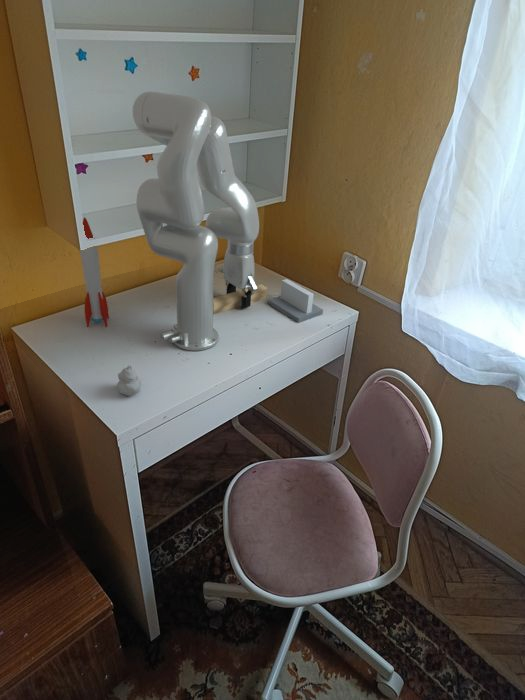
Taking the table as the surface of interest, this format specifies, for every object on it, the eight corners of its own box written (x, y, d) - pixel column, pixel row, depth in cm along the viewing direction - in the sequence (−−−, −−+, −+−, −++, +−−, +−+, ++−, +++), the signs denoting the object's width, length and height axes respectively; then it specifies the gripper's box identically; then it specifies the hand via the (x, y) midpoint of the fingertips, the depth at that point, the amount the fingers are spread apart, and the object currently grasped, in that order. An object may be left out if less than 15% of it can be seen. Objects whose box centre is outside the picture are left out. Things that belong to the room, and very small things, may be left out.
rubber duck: (127, 402, 112) (123, 373, 108) (110, 389, 116) (107, 360, 111) (147, 393, 115) (145, 364, 111) (131, 380, 119) (128, 352, 115)
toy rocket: (107, 327, 138) (95, 221, 122) (86, 327, 137) (71, 221, 121) (109, 317, 143) (98, 214, 126) (89, 317, 142) (75, 213, 126)
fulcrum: (298, 322, 147) (301, 300, 143) (268, 304, 156) (270, 282, 152) (322, 314, 153) (325, 292, 149) (292, 296, 162) (294, 275, 157)
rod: (213, 315, 148) (213, 303, 146) (208, 311, 150) (208, 299, 148) (266, 299, 159) (267, 287, 157) (260, 295, 161) (261, 284, 159)
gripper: (212, 240, 148) (212, 294, 158) (248, 260, 137) (245, 317, 147) (233, 235, 152) (231, 288, 162) (269, 255, 141) (265, 310, 151)
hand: (238, 301), depth 154 cm, fingers open, 6 cm apart
